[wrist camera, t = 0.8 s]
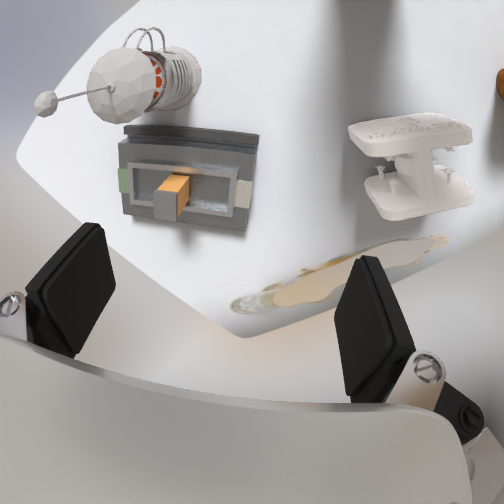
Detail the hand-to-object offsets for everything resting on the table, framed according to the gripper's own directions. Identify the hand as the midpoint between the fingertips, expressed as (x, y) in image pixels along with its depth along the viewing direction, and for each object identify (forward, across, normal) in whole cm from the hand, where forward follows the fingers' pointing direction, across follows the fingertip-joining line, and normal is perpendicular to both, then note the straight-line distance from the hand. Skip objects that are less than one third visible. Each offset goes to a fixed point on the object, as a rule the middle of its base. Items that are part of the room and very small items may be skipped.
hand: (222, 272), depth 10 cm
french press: (+32, +13, -8) cm, 35 cm away
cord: (+32, +10, +1) cm, 33 cm away
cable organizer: (+32, -20, -1) cm, 37 cm away
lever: (+29, +10, +9) cm, 32 cm away
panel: (+32, +10, +9) cm, 35 cm away
